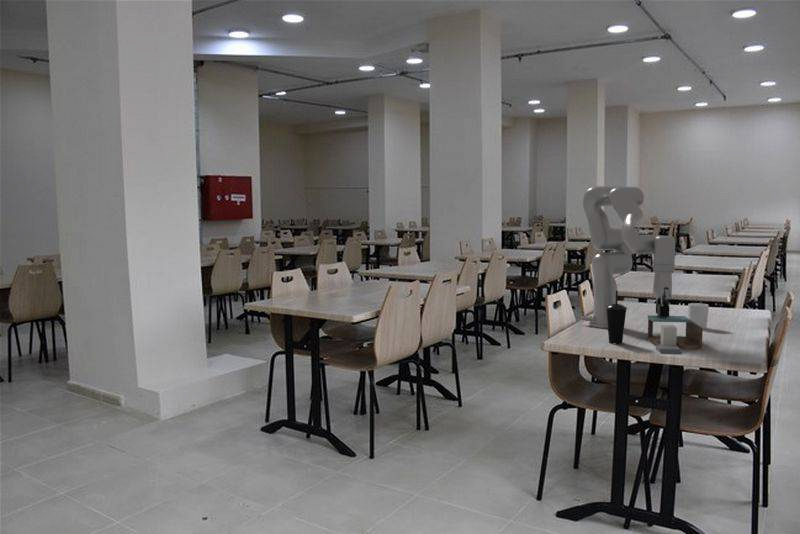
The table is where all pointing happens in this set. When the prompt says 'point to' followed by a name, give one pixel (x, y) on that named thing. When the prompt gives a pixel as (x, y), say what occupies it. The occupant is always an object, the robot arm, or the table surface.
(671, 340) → the block
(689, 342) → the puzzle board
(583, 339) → the table surface
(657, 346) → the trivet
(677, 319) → the cover
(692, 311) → the white cup
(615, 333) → the drinking cup
